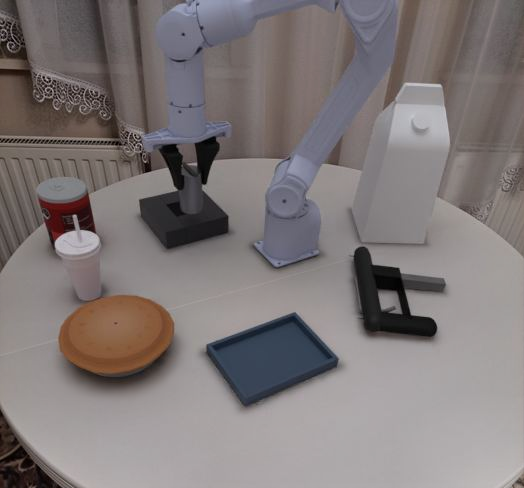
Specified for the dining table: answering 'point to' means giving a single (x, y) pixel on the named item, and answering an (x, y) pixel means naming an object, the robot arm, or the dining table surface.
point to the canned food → (65, 206)
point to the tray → (270, 357)
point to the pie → (116, 335)
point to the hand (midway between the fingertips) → (190, 184)
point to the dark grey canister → (191, 189)
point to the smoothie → (81, 261)
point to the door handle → (394, 280)
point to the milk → (403, 167)
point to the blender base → (182, 219)
